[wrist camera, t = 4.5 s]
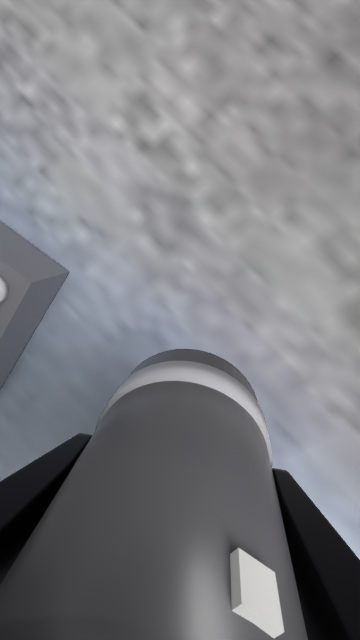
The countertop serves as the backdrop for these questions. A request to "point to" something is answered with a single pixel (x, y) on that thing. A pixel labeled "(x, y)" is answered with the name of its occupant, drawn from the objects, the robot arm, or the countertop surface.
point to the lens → (163, 521)
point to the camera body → (23, 293)
